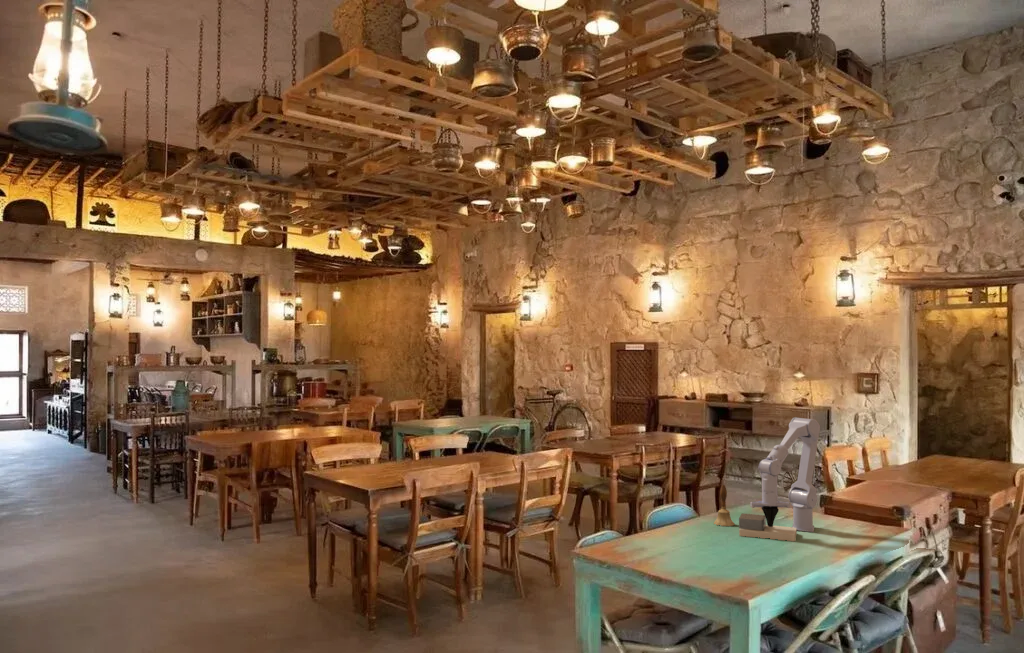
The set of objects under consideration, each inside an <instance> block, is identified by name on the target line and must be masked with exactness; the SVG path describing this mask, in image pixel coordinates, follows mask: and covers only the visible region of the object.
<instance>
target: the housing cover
mask: <svg viewBox="0 0 1024 653" xmlns="http://www.w3.org/2000/svg"><path fill="white" fill-rule="evenodd" d="M766 525H767V520H766V517H765V514H764V515H763V514H755V513H754V514H752V513H741V514H740V516H739V518H738V529H740V528H741V529H752V530H762V531H764V528H765V526H766Z"/></svg>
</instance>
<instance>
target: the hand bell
mask: <svg viewBox="0 0 1024 653" xmlns="http://www.w3.org/2000/svg"><path fill="white" fill-rule="evenodd" d="M719 490H720V491H719V492H720V499H721V508H720V509H719V510H718V511H717V517H716V520H714V522H713V525H715V524H716V525H715V526H718V525H721V526H720V527H734V526H735V525H736V524H735V522H734V521H733V519H732V518H731V513H730V511H729V510H728V509H727V504H726V503H727V496H728V493H727V492H728V491H727V490H728V489H727V488H726V485H725V484H722V485H721V488H720V489H719Z"/></svg>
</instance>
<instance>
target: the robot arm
mask: <svg viewBox="0 0 1024 653" xmlns="http://www.w3.org/2000/svg"><path fill="white" fill-rule="evenodd" d="M820 430H821V425H820V423H819V422H818V420H817V419H815V418H803V417H796V416H795V417H792V419H791V420H790V422H789V423H788V429H787V432H786V434H785V435H784V437H783V438H782V441H781V442H780V444H775V445H774V446H773V447H772V450H771V451H770V452H769V454H768V455H767V457H766V458H763V459H761V460H760V461H759V464H758V466H757V469H758V472H759V474H760V478H761V500H759V501H758V500H757V501H750V505H749V506H750V508H752V509H753V508H761V510H762V512H763V514H764V515H765V517H766V525H768V526H769V527H773V526H774V522H775V519H776V516H777V515H778V513H779V508H786V509H790V506H792V514H793V515H792V516H793V517H792V519H793V520H792V522H793V523H792V526H791V527H794V528H797V531H799V532H809V533H811V532H812V533H814V532H815V531H814V530H815V525H814V524H813V523H814V520H813V518H814V515H813V509H814V508H815V506H816V505H817V503H818V494H817V491H818V489H817V488H816V487H815V486H814V485H813V476H814V468H815V463H816V457H817V455H816V454H817V448H818V444H819V442H818V441H819V436H820V432H821V431H820ZM798 438H799V439H800V440H801V441H802V445H801V446H802V448H801V455H800V460H799V466H798V467H799V468H798V474H797V480H796V481H795V482H794V483H792V484H790V485H791V486H790V490H789V491H788V495H787V496H788V497H787V498H788V501H779V500H778V498H779V497H778V496H779V493H778V475H779V474H780V473H781V471H782V466H783V463H784V461H785V459H786V458H787V456H788V455H789V449H790V448H791V446H793V444H794V443H795V442H796V441H797V439H798ZM790 504H791V505H790Z"/></svg>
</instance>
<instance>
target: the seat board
mask: <svg viewBox="0 0 1024 653" xmlns="http://www.w3.org/2000/svg"><path fill="white" fill-rule="evenodd" d="M738 529H739V530H738V532H739V535H738V536H739V537H745V536H746V537H747V538H755V537H758V538H757V539H765V538H770V539H769V540H775V539H778V540H777V541H785V540H787V541H786V542H796V538H797V531H798V530H797V528H794V527H792V526H783V525H782V526H781V525H773V527H769V526H768V525H767V524H766V526H765V528H764V531H762V530H752V529H741V528H738ZM759 537H760V538H759Z"/></svg>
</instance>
